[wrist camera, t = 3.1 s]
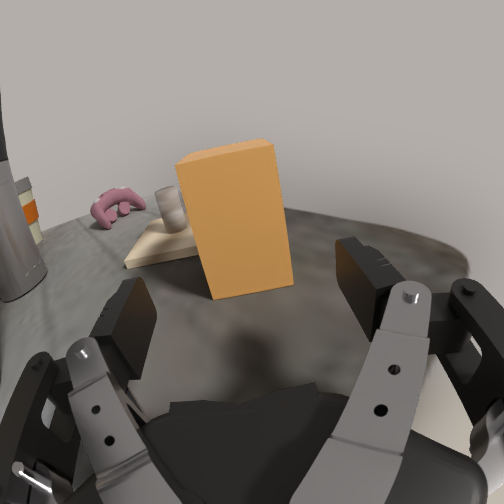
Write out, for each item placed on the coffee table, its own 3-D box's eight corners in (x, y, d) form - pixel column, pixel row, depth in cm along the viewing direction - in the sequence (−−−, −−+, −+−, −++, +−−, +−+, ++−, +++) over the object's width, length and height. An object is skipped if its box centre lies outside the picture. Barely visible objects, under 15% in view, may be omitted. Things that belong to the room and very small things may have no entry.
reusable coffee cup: (30, 253, 43) (5, 186, 36) (0, 264, 43) (-23, 205, 36) (57, 229, 54) (38, 172, 48) (26, 241, 54) (8, 188, 48)
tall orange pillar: (213, 299, 20) (174, 165, 16) (216, 260, 26) (189, 153, 21) (293, 284, 20) (273, 144, 16) (280, 248, 26) (262, 138, 21)
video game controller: (140, 215, 52) (123, 187, 51) (149, 205, 49) (131, 175, 48) (101, 238, 45) (83, 207, 43) (108, 228, 42) (88, 195, 40)
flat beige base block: (127, 269, 28) (107, 217, 25) (153, 226, 38) (141, 187, 36) (217, 251, 27) (202, 193, 25) (220, 211, 38) (211, 170, 35)
